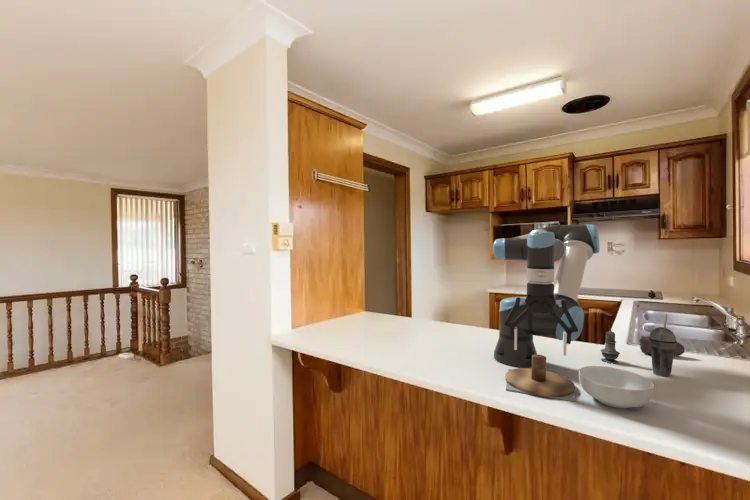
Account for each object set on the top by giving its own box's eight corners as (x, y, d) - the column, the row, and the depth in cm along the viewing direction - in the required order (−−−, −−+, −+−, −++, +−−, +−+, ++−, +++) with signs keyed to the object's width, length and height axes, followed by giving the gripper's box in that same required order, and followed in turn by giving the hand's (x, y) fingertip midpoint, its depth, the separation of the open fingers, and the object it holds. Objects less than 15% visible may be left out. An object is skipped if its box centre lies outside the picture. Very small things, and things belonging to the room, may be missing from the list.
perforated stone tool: (681, 355, 136) (682, 337, 136) (688, 359, 131) (688, 341, 131) (635, 351, 141) (635, 334, 141) (639, 354, 136) (640, 337, 136)
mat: (505, 390, 102) (505, 389, 102) (508, 369, 119) (508, 368, 119) (576, 401, 95) (576, 400, 95) (568, 378, 112) (568, 377, 112)
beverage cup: (642, 370, 119) (643, 312, 119) (661, 370, 120) (663, 312, 119) (661, 378, 112) (662, 316, 111) (682, 378, 112) (683, 316, 112)
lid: (503, 389, 102) (503, 361, 102) (507, 368, 119) (507, 344, 119) (578, 401, 94) (578, 371, 94) (570, 377, 111) (570, 351, 111)
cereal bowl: (583, 409, 91) (584, 382, 91) (573, 385, 106) (574, 362, 106) (664, 422, 84) (664, 393, 84) (641, 395, 100) (642, 370, 100)
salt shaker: (622, 364, 125) (623, 331, 125) (604, 363, 126) (605, 330, 126) (615, 359, 131) (615, 327, 130) (597, 358, 132) (598, 326, 131)
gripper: (496, 281, 108) (495, 349, 108) (590, 286, 98) (588, 360, 99) (497, 279, 115) (497, 343, 115) (585, 282, 105) (584, 352, 105)
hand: (539, 351), depth 107 cm, fingers open, 13 cm apart
